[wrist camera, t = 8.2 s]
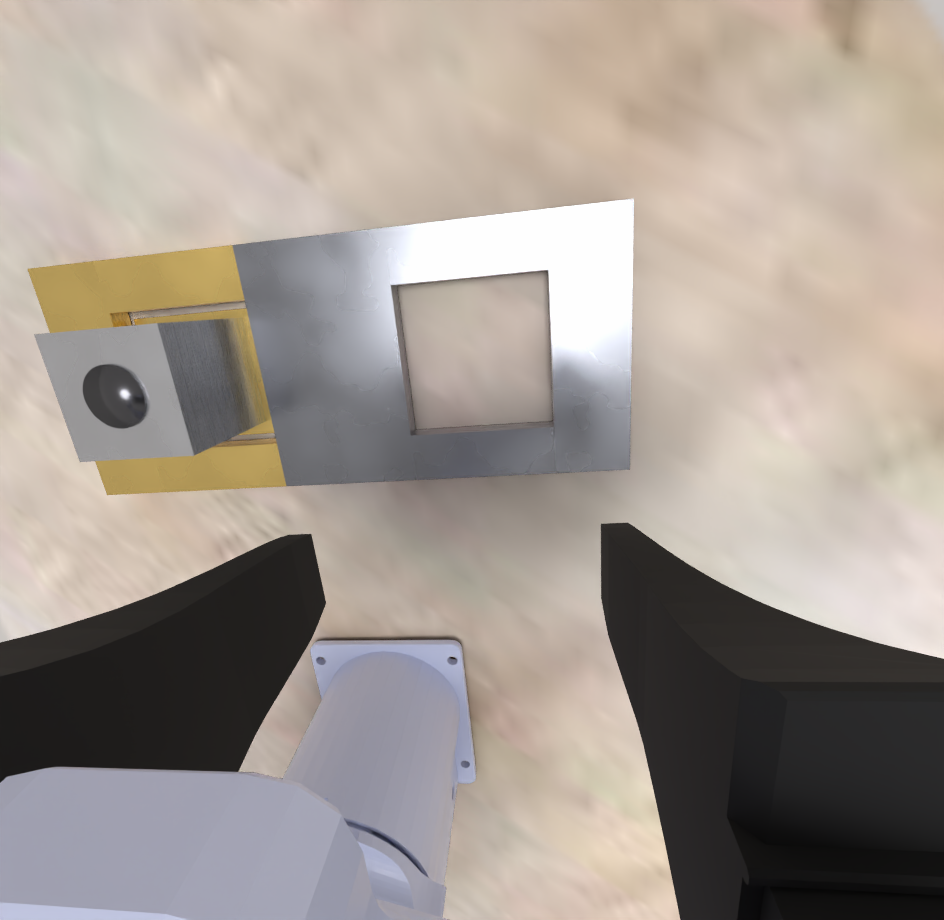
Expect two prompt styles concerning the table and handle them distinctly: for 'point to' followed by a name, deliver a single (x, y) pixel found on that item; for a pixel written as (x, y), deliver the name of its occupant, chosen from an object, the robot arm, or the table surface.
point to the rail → (378, 347)
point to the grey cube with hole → (153, 387)
